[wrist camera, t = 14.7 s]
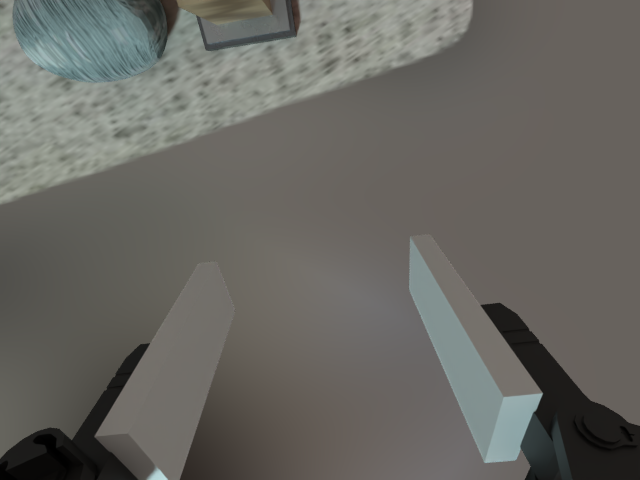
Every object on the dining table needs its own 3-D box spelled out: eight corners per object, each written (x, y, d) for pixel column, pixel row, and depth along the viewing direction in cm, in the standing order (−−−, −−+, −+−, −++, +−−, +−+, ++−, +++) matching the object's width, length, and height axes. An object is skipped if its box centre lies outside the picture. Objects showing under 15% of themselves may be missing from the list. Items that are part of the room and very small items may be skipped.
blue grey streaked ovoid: (142, -71, 26) (79, -28, 21) (199, 44, 34) (162, 96, 29) (30, -41, 29) (-48, 3, 24) (105, 58, 37) (58, 106, 32)
